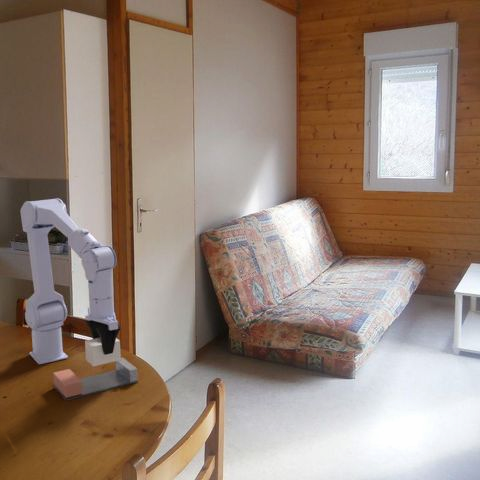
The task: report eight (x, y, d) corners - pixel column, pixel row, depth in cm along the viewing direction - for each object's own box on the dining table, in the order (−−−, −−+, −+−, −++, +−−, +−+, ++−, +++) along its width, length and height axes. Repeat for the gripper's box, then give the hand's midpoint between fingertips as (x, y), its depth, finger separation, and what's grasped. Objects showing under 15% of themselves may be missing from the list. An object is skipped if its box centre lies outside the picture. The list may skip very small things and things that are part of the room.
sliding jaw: (53, 384, 143) (53, 372, 142) (70, 380, 145) (69, 368, 145) (66, 397, 136) (65, 385, 135) (82, 393, 138) (82, 381, 137)
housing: (86, 360, 145) (84, 339, 144) (112, 353, 149) (111, 333, 148) (93, 366, 141) (92, 345, 140) (120, 360, 145) (119, 339, 144)
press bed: (54, 387, 143) (53, 373, 142) (123, 370, 153) (122, 357, 152) (66, 401, 136) (65, 387, 135) (137, 382, 146) (137, 368, 145)
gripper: (74, 292, 145) (78, 344, 148) (96, 306, 134) (99, 363, 136) (102, 288, 149) (104, 338, 152) (125, 301, 138) (127, 356, 140)
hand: (104, 350), depth 144 cm, fingers closed on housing, 5 cm apart
